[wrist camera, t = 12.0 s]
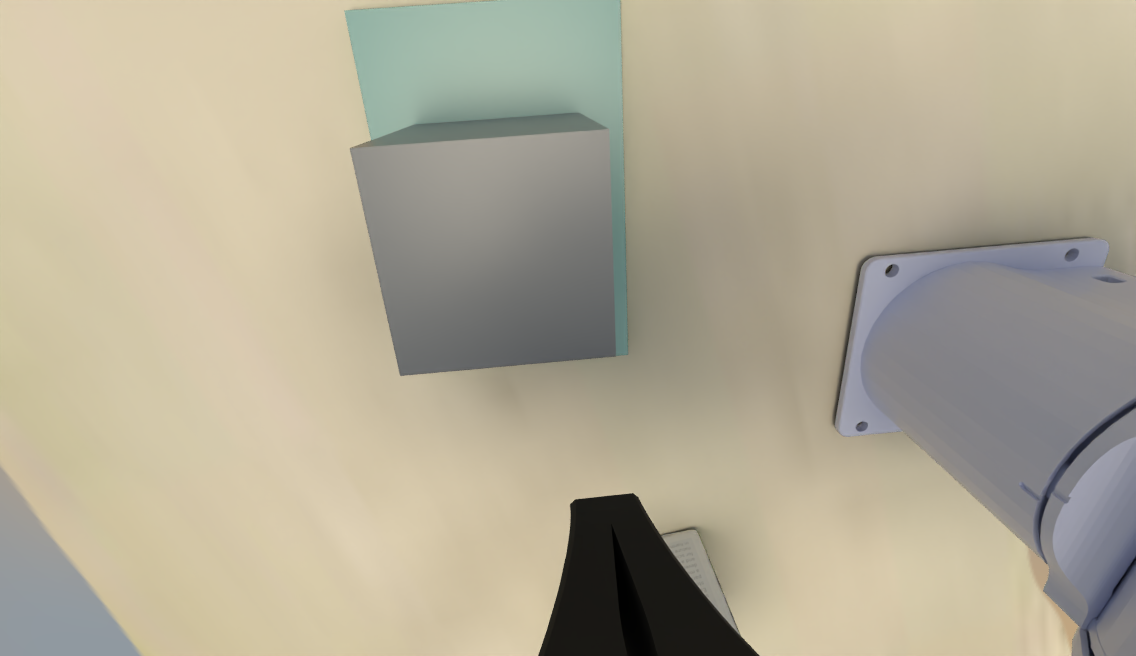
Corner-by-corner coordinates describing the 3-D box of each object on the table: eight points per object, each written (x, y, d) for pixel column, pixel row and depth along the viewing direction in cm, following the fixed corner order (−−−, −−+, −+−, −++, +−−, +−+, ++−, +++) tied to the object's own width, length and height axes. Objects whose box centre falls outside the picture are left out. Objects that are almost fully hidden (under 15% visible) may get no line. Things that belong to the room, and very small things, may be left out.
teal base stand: (617, -5, 16) (663, -50, 11) (625, 347, 21) (660, 440, 16) (350, 13, 16) (258, -24, 11) (422, 366, 21) (385, 467, 16)
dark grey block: (579, 112, 17) (609, 129, 11) (587, 268, 19) (616, 356, 13) (414, 124, 17) (349, 148, 11) (440, 281, 19) (400, 375, 13)
